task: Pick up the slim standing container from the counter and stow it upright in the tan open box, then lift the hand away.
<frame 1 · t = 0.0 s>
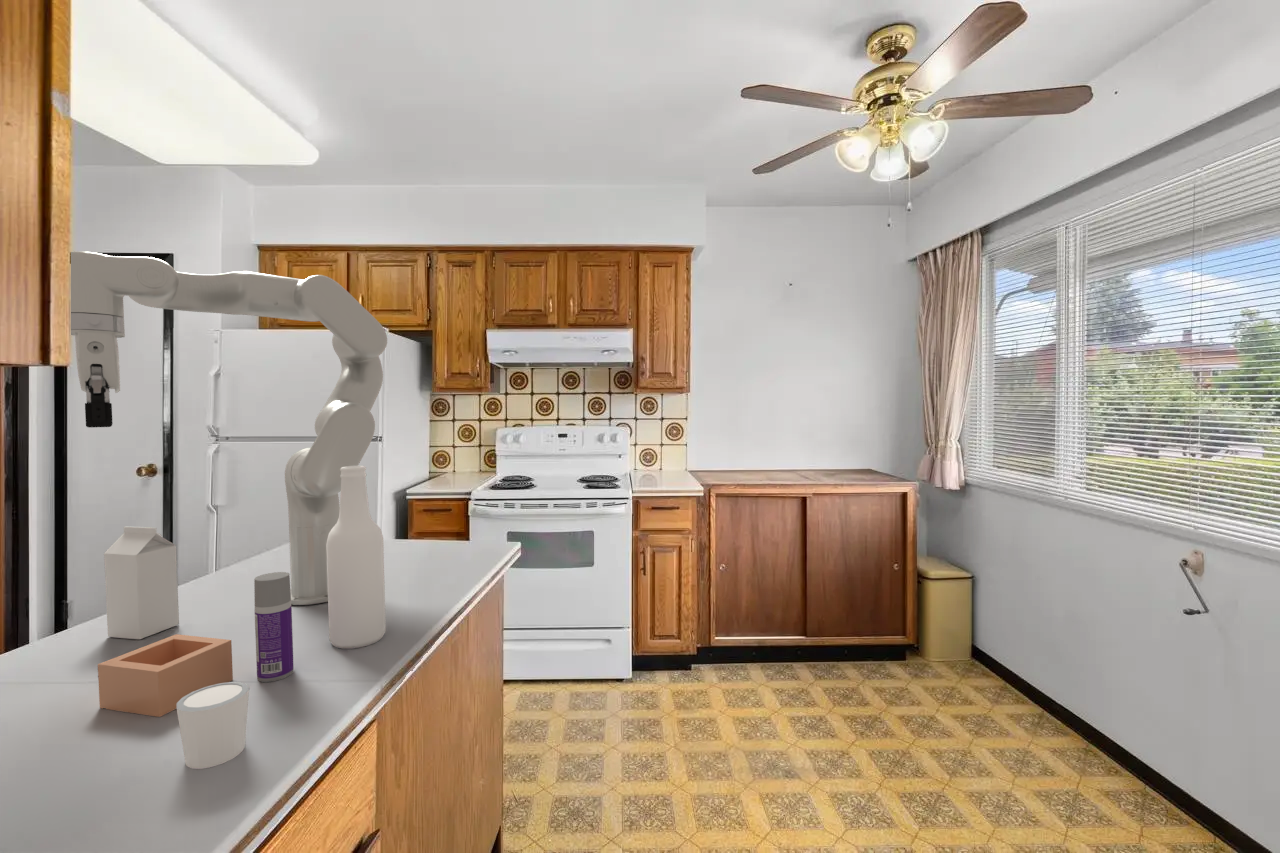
hand: (99, 426, 100), 37 cm above the counter, tool pointing down, fingers open, 9 cm apart
milk carton: (144, 632, 105), on the counter
alcohol: (358, 640, 100), on the counter
white cup: (216, 755, 67), on the counter
tan open box: (169, 693, 82), on the counter
container: (275, 675, 87), on the counter
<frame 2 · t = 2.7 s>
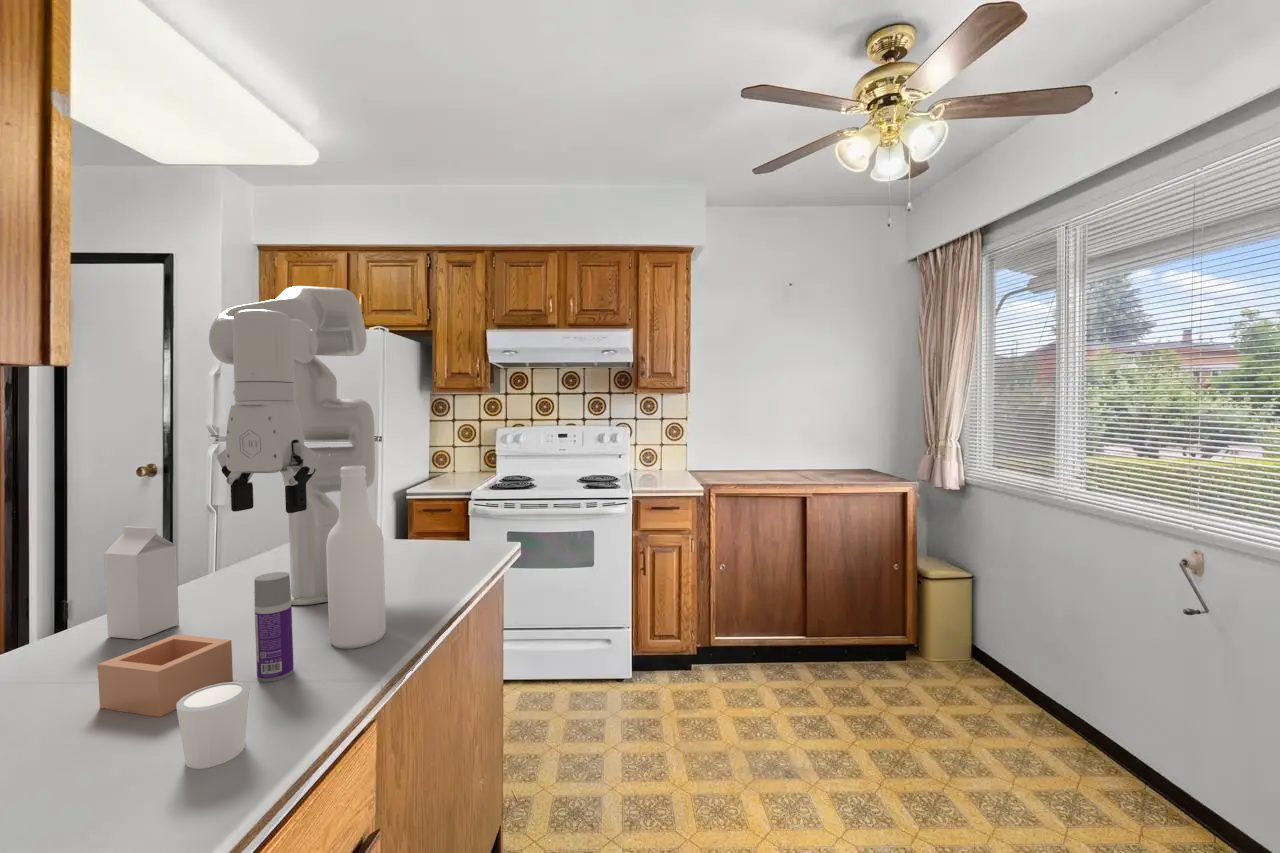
hand: (269, 510, 86), 25 cm above the counter, tool pointing down, fingers open, 9 cm apart
nothing on the counter moved.
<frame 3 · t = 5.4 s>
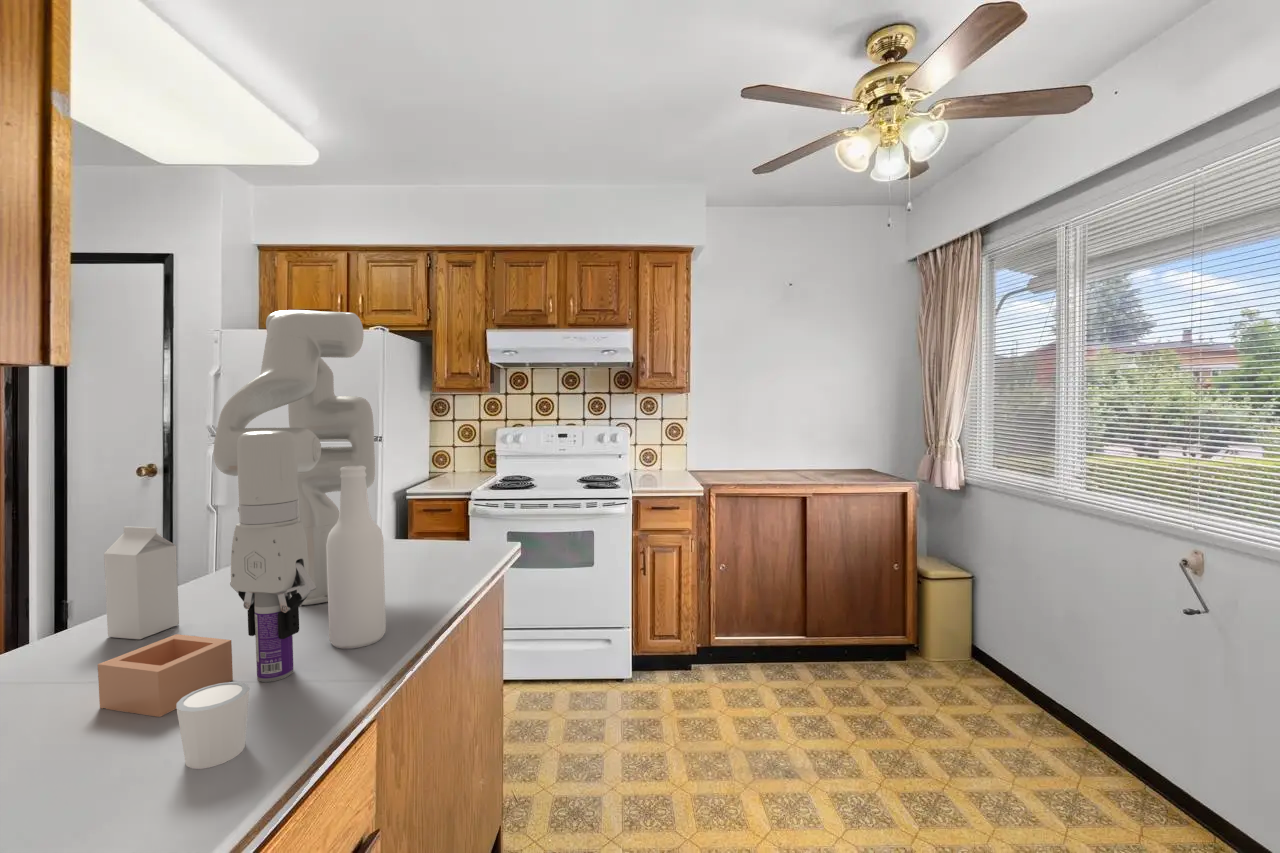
hand: (274, 632, 87), 6 cm above the counter, tool pointing down, fingers closed on container, 4 cm apart
container: (275, 675, 87), on the counter, touching gripper
everything else where it was.
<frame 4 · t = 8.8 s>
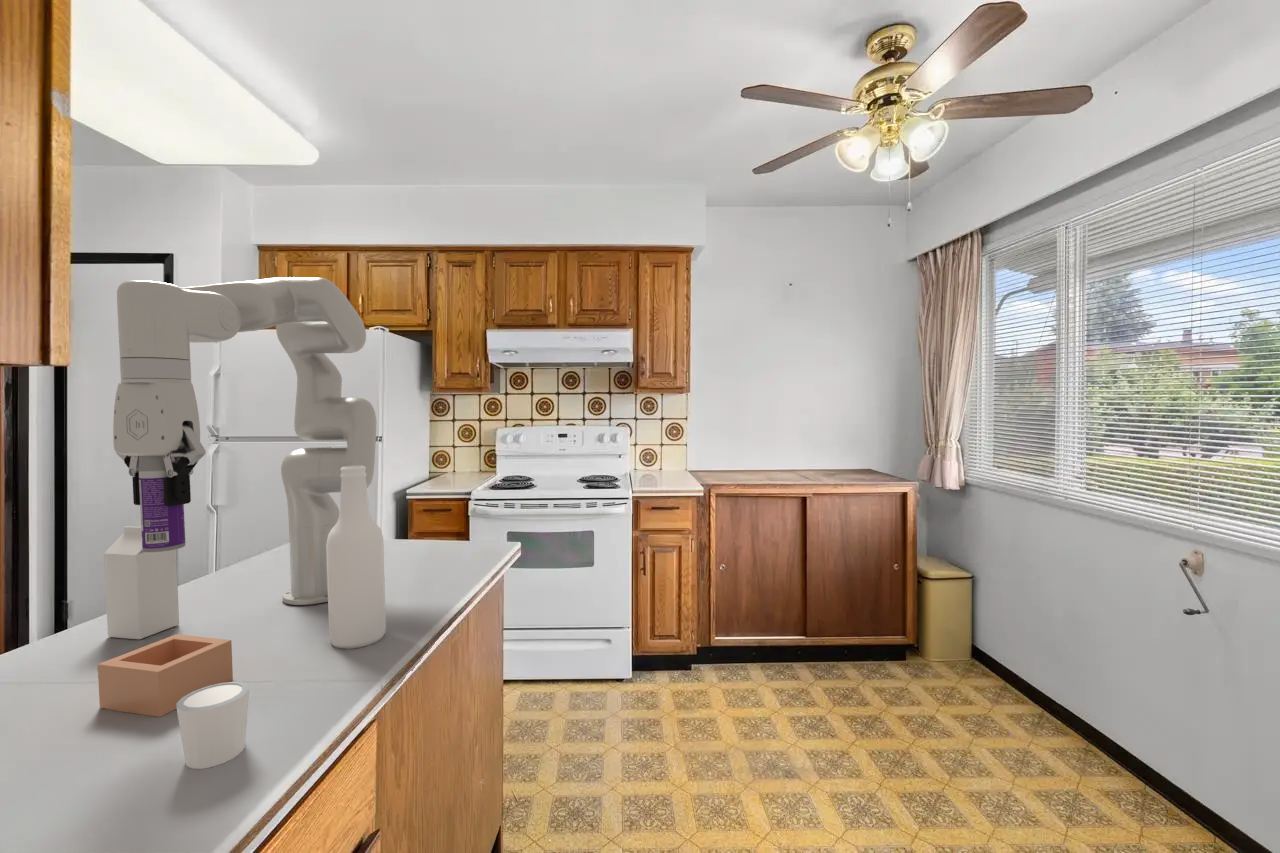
hand: (162, 502, 81), 27 cm above the counter, tool pointing down, fingers closed on container, 4 cm apart
container: (164, 549, 81), point 20 cm above the counter, touching gripper
everything else where it was.
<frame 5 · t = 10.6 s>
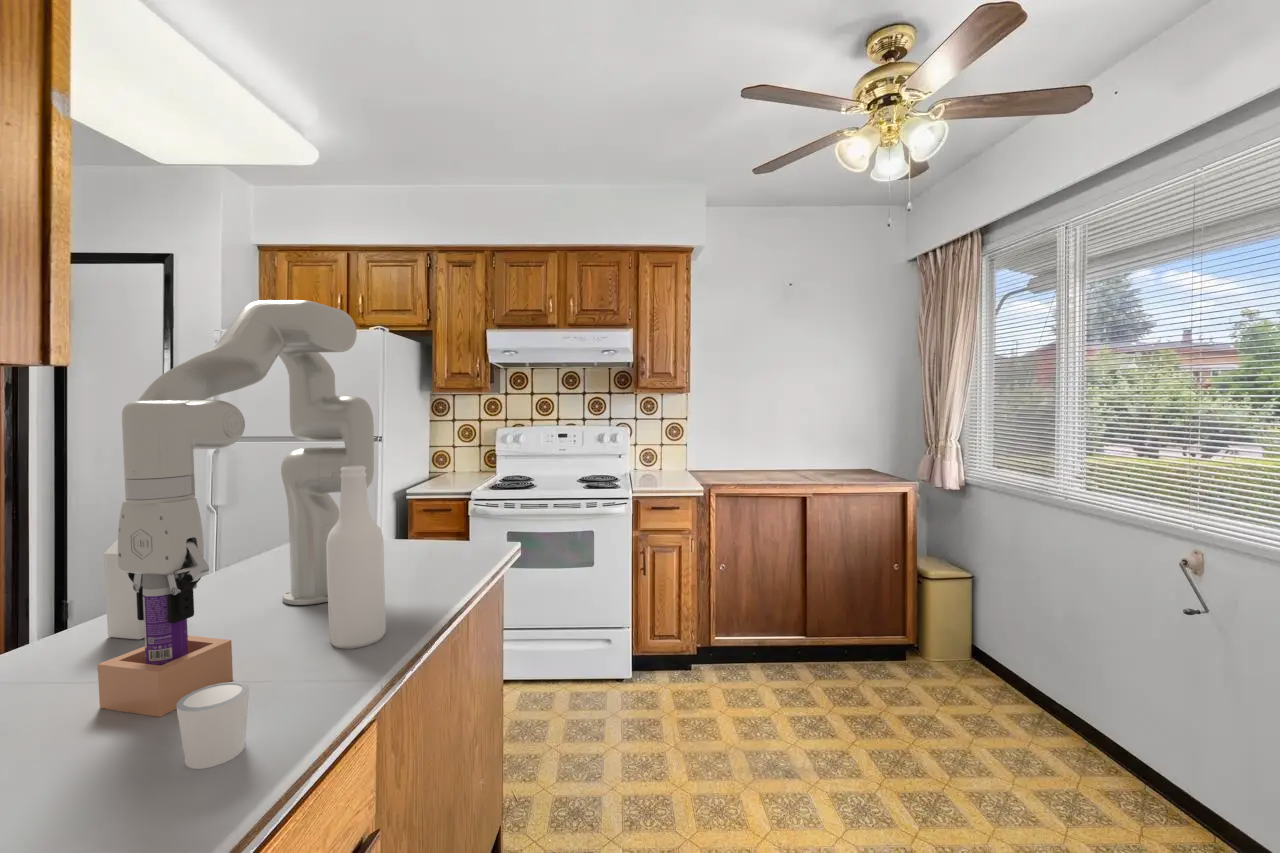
hand: (166, 617, 81), 11 cm above the counter, tool pointing down, fingers closed on container, 4 cm apart
container: (167, 663, 82), point 4 cm above the counter, touching gripper
everything else where it was.
when the fingers open (9 cm above the counter, at t = 12.2 s): container drops 1 cm, resting on tan open box.
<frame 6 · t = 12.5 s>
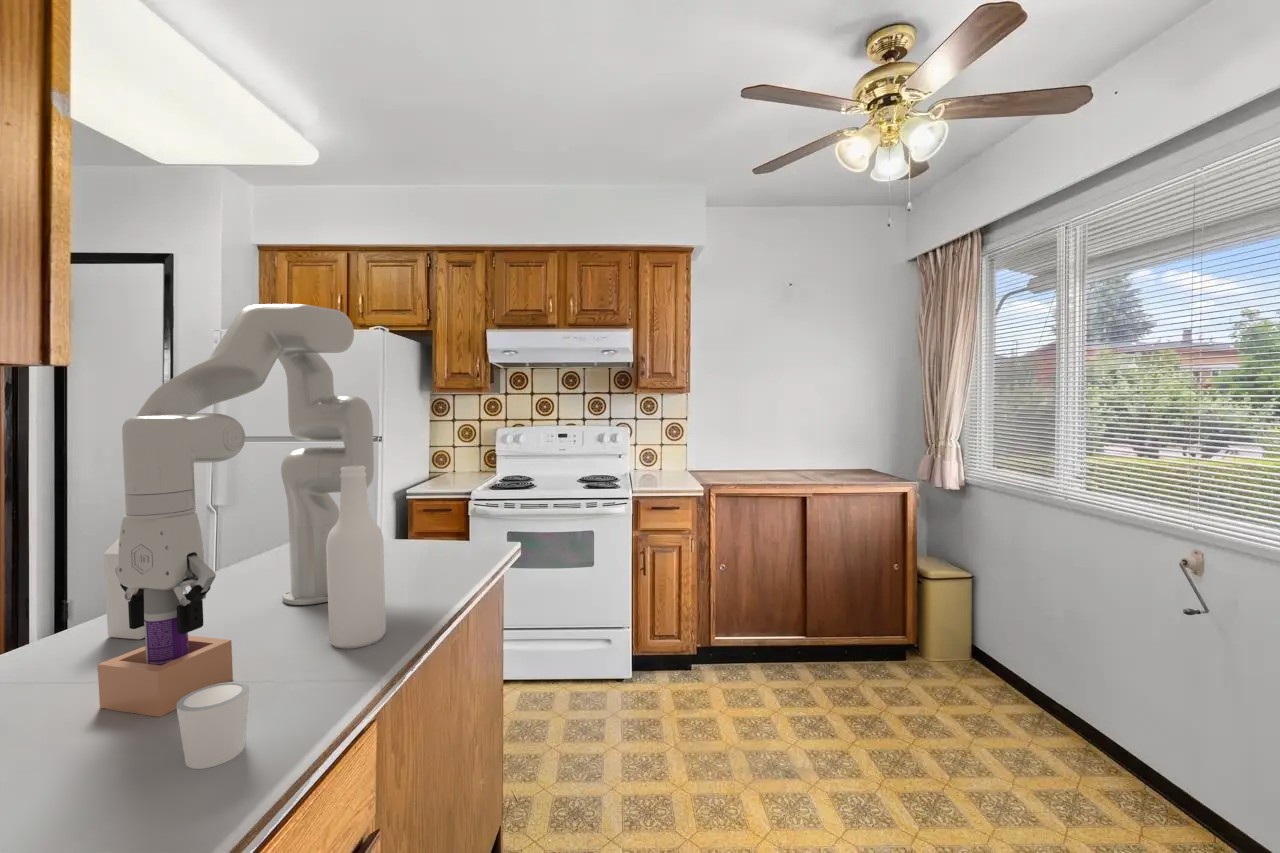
hand: (166, 627, 81), 9 cm above the counter, tool pointing down, fingers open, 8 cm apart
container: (169, 687, 82), point 1 cm above the counter, touching tan open box
everything else where it was.
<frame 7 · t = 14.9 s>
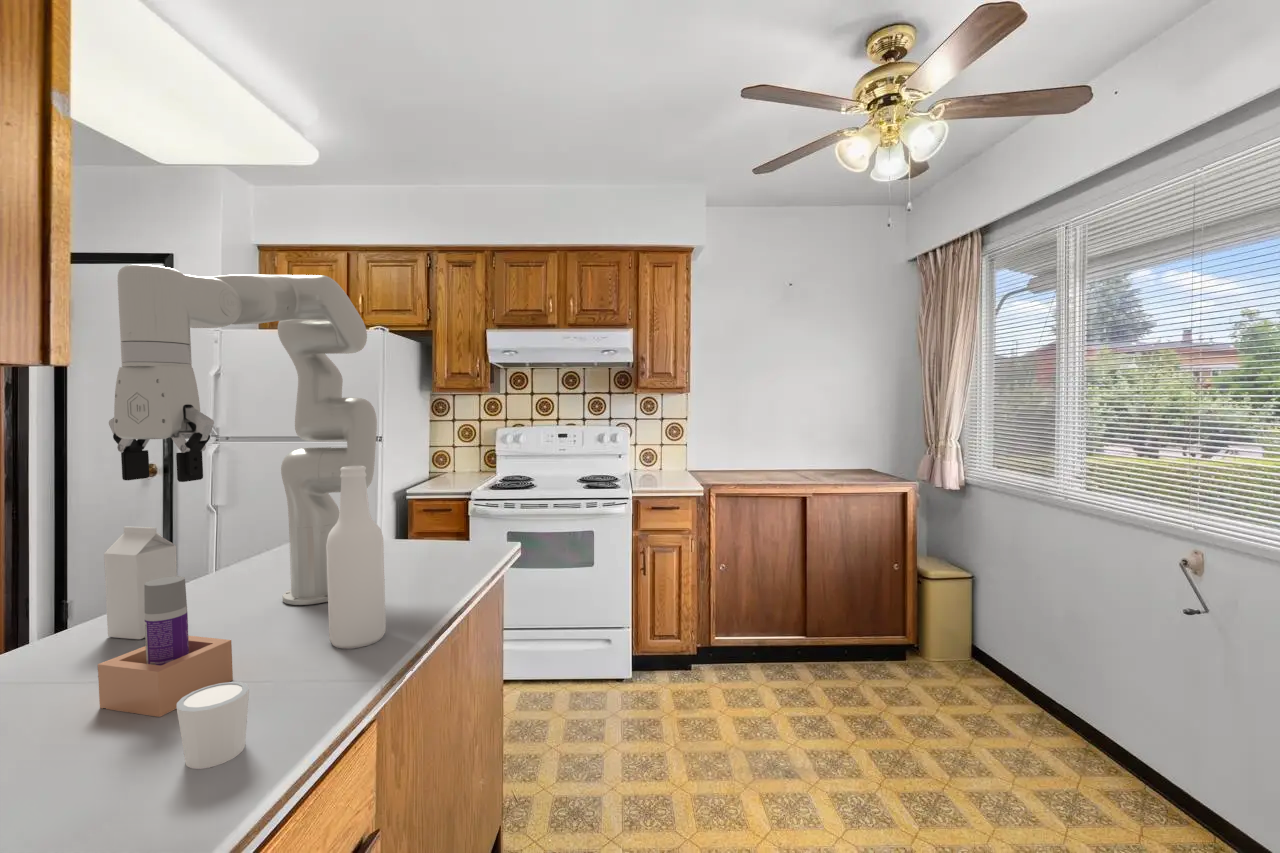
hand: (163, 479, 81), 30 cm above the counter, tool pointing down, fingers open, 9 cm apart
nothing on the counter moved.
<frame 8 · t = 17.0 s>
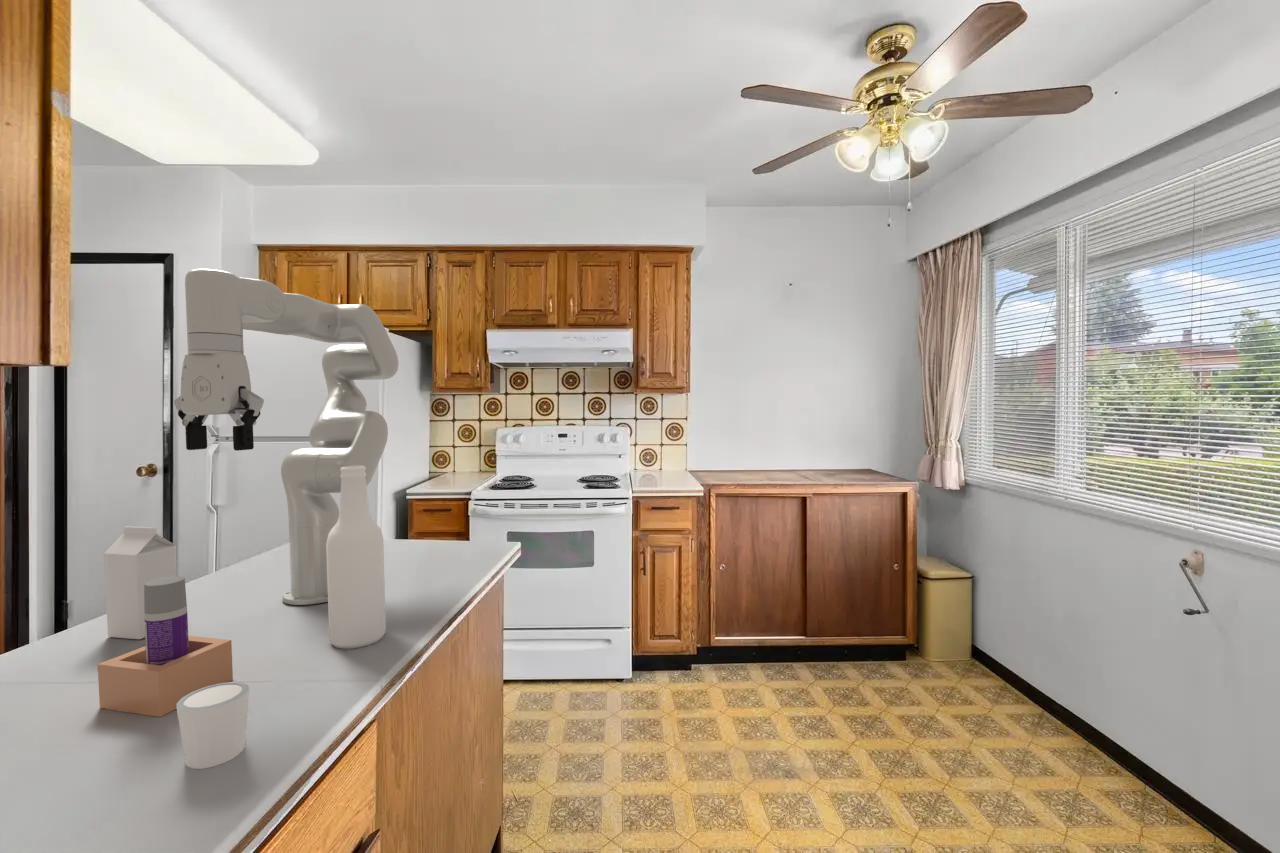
hand: (220, 449, 97), 33 cm above the counter, tool pointing down, fingers open, 9 cm apart
nothing on the counter moved.
at the end: container 0.3 cm off-centre on the tan open box, point 0.8 cm above the tan open box's base; container tilted 0°; the gripper is holding nothing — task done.
